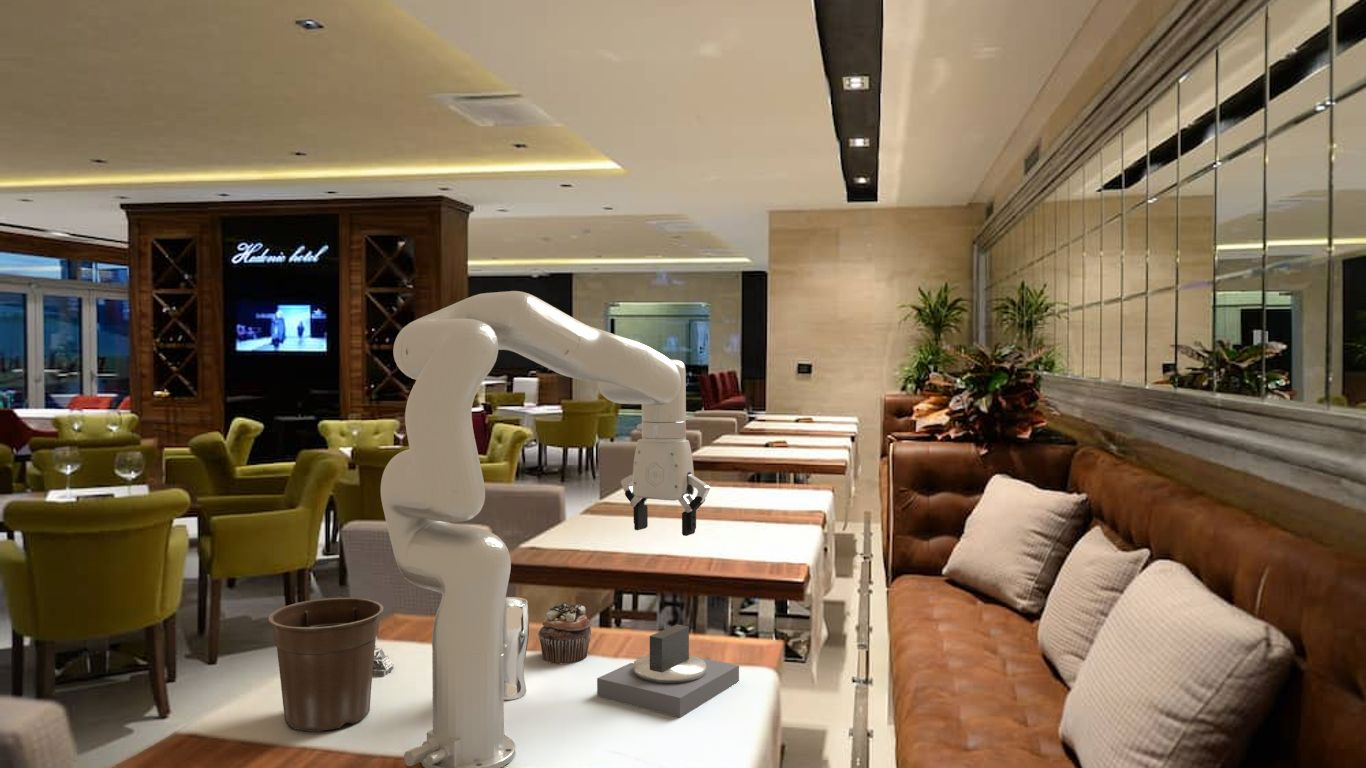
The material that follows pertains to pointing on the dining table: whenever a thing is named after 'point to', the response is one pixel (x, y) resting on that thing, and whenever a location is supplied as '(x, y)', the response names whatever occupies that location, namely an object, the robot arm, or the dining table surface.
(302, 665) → the plant pot
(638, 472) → the robot arm
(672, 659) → the dial
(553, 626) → the cupcake
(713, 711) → the dining table surface
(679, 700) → the control panel
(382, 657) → the house of cards
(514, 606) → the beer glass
